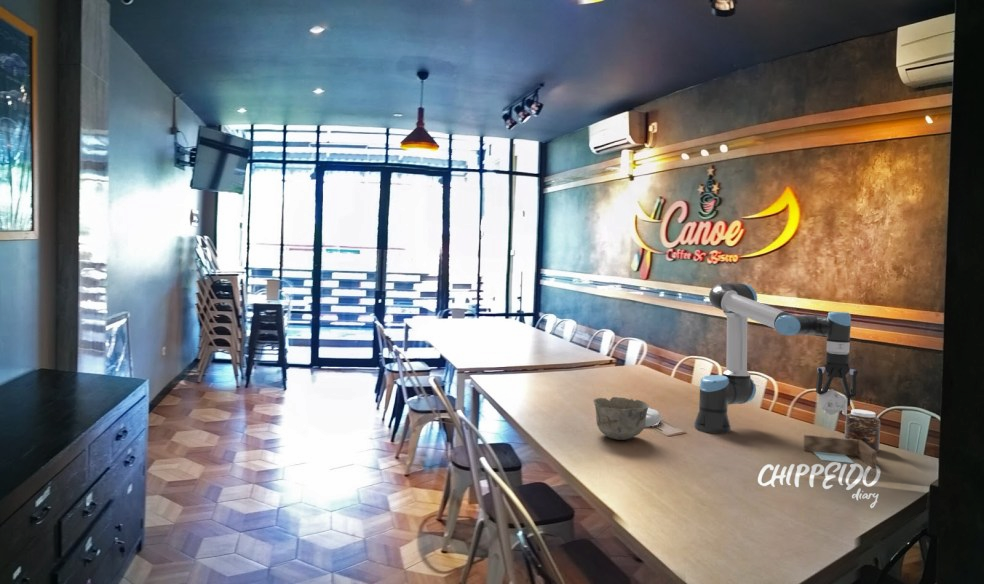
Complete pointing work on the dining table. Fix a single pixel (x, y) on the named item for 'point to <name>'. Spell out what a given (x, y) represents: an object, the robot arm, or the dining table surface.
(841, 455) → the mat
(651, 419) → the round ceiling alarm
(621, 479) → the dining table surface
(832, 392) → the die
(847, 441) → the arena
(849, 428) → the jar
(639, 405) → the bowl
